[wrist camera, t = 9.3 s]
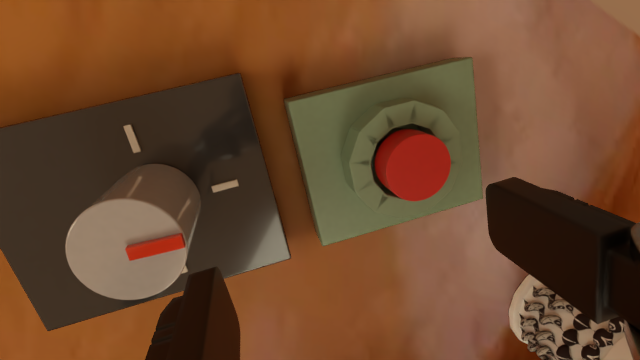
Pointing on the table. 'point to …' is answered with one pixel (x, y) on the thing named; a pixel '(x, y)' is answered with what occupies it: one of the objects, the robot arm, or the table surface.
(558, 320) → the decorative candle
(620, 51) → the table surface
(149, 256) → the stove knob
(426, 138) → the power button
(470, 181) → the block
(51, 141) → the hob panel
